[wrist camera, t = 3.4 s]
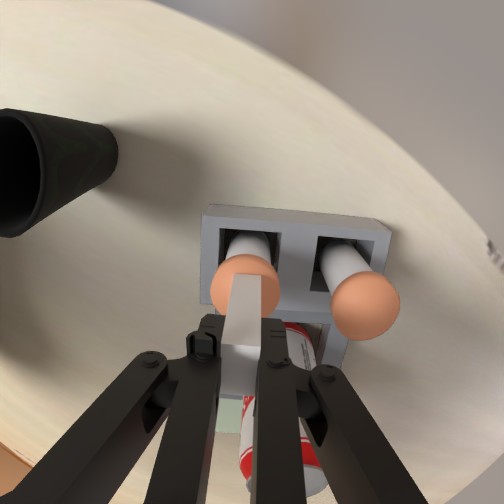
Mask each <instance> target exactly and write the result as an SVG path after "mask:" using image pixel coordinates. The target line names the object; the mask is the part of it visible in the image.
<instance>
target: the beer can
mask: <svg viewBox="0 0 504 504" xmlns="http://www.w3.org/2000/svg"><path fill="white" fill-rule="evenodd" d="M283 323H284V324H285V326H286V335H287V344H288V353H289V357H290V358H291V360H292V362H293V364H294V365H296V366H298V367H300V368H302V369H306V370H310V371H312V369H313V368H314V367H315V366H317V365H316V360H315V356H314V351H313V346H312V342H311V339H310V337H309V335H308V333H307V332H306V330H304V329H303V328H302V327H301V326H300V325H298V324H296V323H293V322H283ZM254 401H255V396H243V405H242V420H241V435H240V451H239V466H240V469H241V471H242V473H243V475H244V477H245V479H246V480H247V483H246V487H247V489H248V491H249V492H250V493H251V471H252V445H253V418H254V417H253V409H254ZM299 426H300V436H301V446H302V456H303V466H304V477H305V489H306V498H307V497H310V496H312V495H315V494H317V493H319V492H320V491H322V490H323V489H325V488H326V486H327V485H328V481H327V479H326V477H325V475H324V473H323V470H322V468H321V466H320V464H319V462H318V459H317V457H316V455H315V453H314V451H313V448H312V446H311V444H310V442H309V439H308V437H307V435H306V433H305V430H304V428H303V426H302V424H301V421H300V417H299Z"/></svg>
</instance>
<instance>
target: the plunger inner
mask: <svg viewBox="0 0 504 504" xmlns="http://www.w3.org/2000/svg"><path fill="white" fill-rule="evenodd" d="M234 273H238V274H251V275H261V317H262V318H266V317H268V316H269V315H270V314H271V313H272V312H273V311H274V310H275V309H276V307H277V305H278V303H279V299H280V286H279V279H278V275H277V273H276V271H275V269H274V267H273V266H272V265H271V257H270V245H269V241H268V238H267V236H266V235H265V234H264V233H263V232H262V231H254V230H239V231H237V232H236V233H235V234H234V235H233V237H232V239H231V241H230V245H229V249H228V252H227V256H226V259H225V261H223V262H222V263H221V264H220V265H219V267H218V268H217V270H216V272H215V274H214V277H213V280H212V284H211V289H210V295H211V300H212V303H213V305H214V307H215V308H216V309H217V311H218V312H219V313H220V314H221V315H226V313H227V308H228V303H229V297H230V292H231V287H232V281H233V276H234Z"/></svg>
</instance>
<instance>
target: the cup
mask: <svg viewBox="0 0 504 504" xmlns="http://www.w3.org/2000/svg"><path fill="white" fill-rule="evenodd" d="M117 161H118V146H117V142H116V139H115V138H114V136H113V134H112V133H111V132H110V131H109V130H108V129H107V128H105V127H103V126H101V125H97V124H93V123H88V122H83V121H78V120H73V119H68V118H63V117H58V116H52V115H46V114H41V113H35V112H29V111H22V110H16V109H9V108H5V109H1V110H0V237H6V238H12V237H16V236H20V235H21V234H23V233H24V232H25V231H27V230H28V229H30V228H31V227H33V226H34V225H36V224H37V223H38V222H40V221H41V220H43V219H44V218H46V217H47V216H49V215H50V214H52V213H54V212H55V211H57V210H58V209H60V208H61V207H63V206H64V205H66V204H68V203H69V202H71V201H72V200H74V199H76V198H77V197H79V196H81V195H82V194H84V193H86V192H87V191H89V190H91V189H92V188H94V187H96V186H97V185H99V184H101V183H103V182H104V181H106V180H107V179H108V178H109V177H110V176H111V175H112V173H113V172H114V170H115V167H116V165H117Z"/></svg>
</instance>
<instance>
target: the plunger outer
mask: <svg viewBox="0 0 504 504" xmlns="http://www.w3.org/2000/svg"><path fill="white" fill-rule="evenodd" d="M318 264H319V267H320V270H321V272H322V274H323V277H324V279H325V281H326V284H327V286H328V289H329V291H330V293H331V296H332V298H331V304H330V308H331V313H332V316H333V319H334V321H335V324H336V327H337V329H338V330H339V331H340V333H341V334H342V335H344V336H345V337H347V338H349V339H352V340H359V341H362V340H369V339H373V338H375V337H377V336H379V335H381V334H383V333H384V332H385V331H387V330H388V329H389V328H390V327H391V326H392V324H393V323H394V321H395V320H396V318H397V316H398V313H399V309H400V299H399V295H398V293H397V291H396V290H395V288H394V287H393V286H392V285H391V283H390V282H389V281H388V280H387V278H385V277H384V276H383V275H381V274H379V273H377V272H373V271H372V269H371V268H370V267H369V266H368V264H367V263H366V262H365V260H364V259H363V258H362V257H361V255H360V254H359V253H358V251H357V250H356V249H355V248H354V246H353V245H352V244H351V243H349V242H347V241H344V240H334V241H331V242H329V243H328V244H326V245H325V246H324V247H323V248H322V250H321V251H320V254H319V257H318Z"/></svg>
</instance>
